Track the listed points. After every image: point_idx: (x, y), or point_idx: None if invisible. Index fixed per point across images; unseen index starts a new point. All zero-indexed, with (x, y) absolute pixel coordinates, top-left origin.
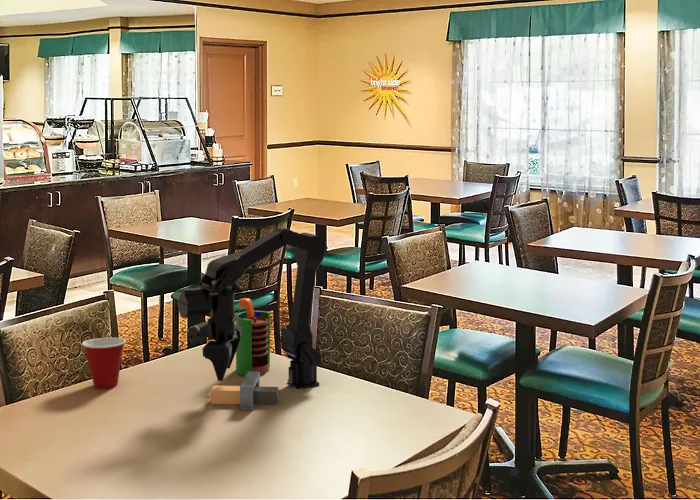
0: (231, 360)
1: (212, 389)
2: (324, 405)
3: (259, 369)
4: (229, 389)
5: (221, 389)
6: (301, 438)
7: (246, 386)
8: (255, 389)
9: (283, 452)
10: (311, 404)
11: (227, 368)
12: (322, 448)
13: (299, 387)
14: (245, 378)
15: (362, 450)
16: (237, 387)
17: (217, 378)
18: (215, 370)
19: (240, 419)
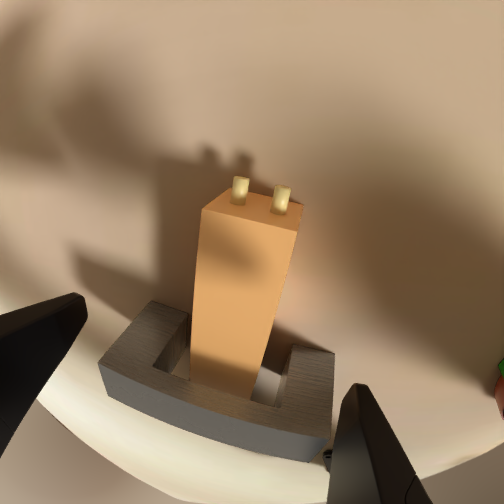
0: (333, 464)
1: (217, 219)
2: (202, 451)
3: (500, 399)
4: (211, 313)
5: (214, 273)
6: None
7: (109, 383)
8: None
9: None
10: (208, 442)
11: (350, 390)
12: None
13: (323, 456)
14: (212, 414)
15: (53, 401)
16: (239, 350)
17: (60, 297)
18: (2, 319)
19: (87, 286)
